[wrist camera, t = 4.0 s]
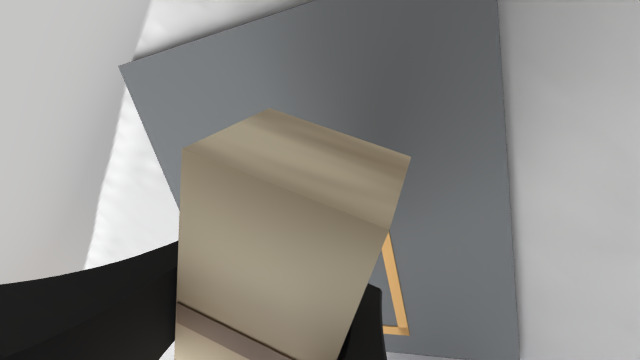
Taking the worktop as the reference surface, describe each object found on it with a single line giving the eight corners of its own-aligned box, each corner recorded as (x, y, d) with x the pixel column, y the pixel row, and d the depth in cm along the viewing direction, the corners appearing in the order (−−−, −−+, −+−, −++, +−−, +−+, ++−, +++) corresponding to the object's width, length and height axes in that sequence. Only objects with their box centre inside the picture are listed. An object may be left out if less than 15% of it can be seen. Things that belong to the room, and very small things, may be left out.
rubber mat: (518, 356, 20) (520, 366, 19) (236, 330, 28) (232, 336, 27) (492, -56, 13) (493, -60, 12) (126, 64, 21) (116, 66, 20)
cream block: (328, 367, 14) (289, 476, 11) (235, 321, 15) (171, 409, 12) (410, 156, 10) (388, 231, 6) (269, 108, 11) (179, 149, 7)
